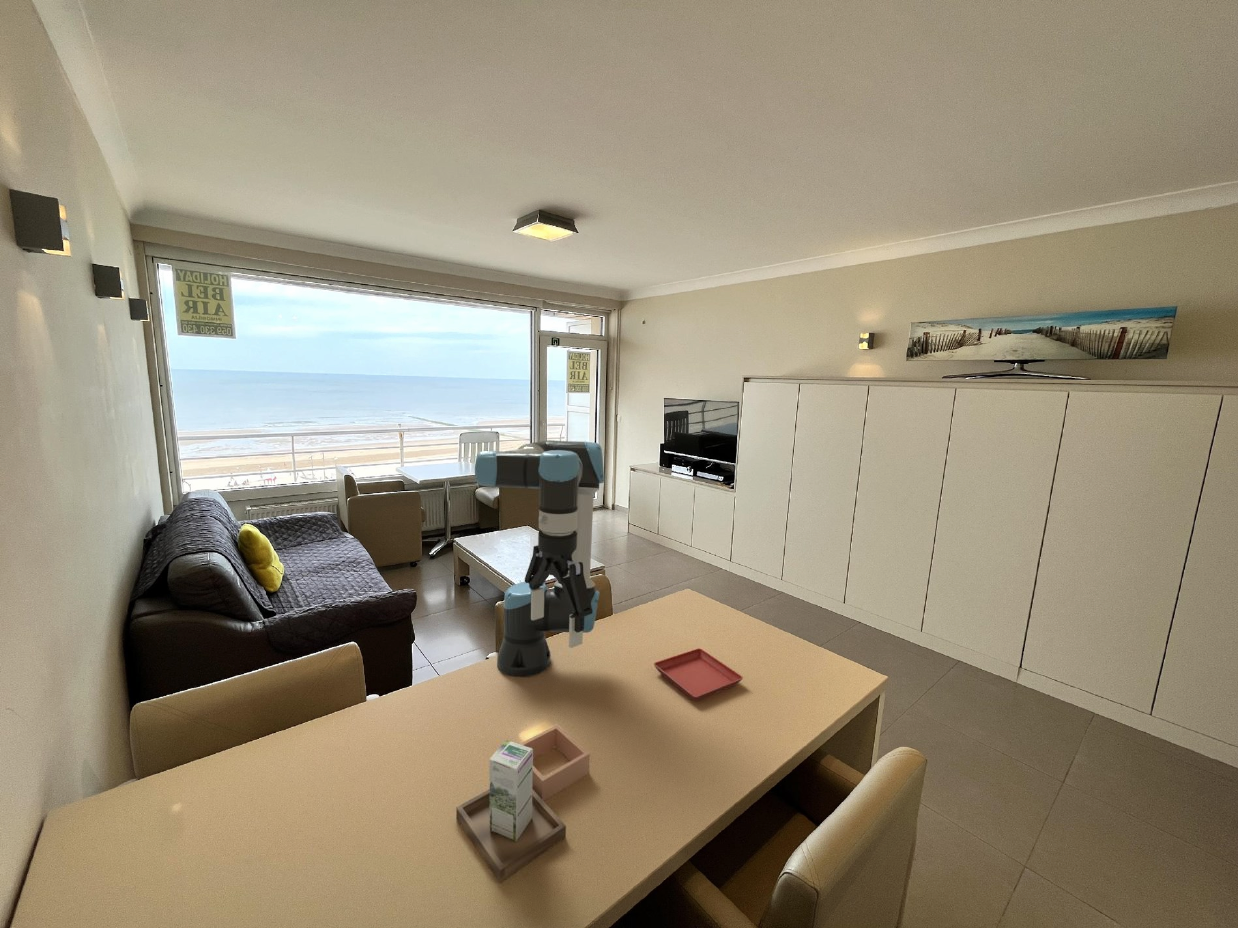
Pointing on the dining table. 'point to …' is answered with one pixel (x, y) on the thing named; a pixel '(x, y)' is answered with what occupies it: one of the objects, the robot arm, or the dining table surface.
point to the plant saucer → (697, 673)
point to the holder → (565, 773)
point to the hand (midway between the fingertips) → (555, 631)
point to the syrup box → (511, 789)
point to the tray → (501, 850)
